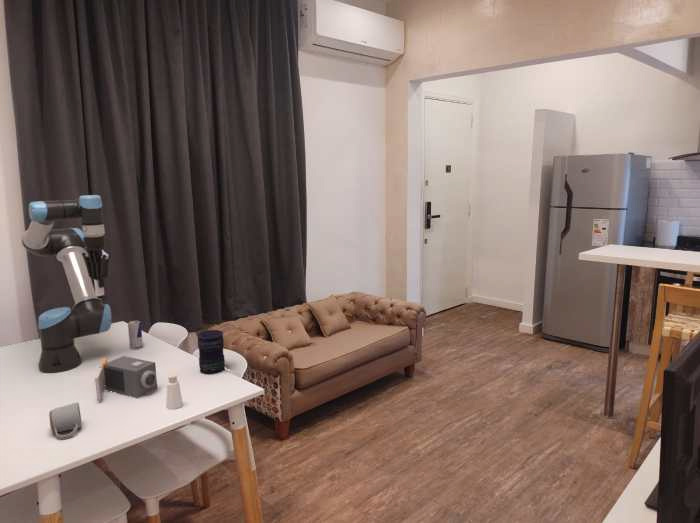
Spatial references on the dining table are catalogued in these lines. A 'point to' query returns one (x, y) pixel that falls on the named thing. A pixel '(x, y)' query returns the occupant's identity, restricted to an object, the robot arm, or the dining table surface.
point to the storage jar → (211, 352)
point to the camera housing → (130, 376)
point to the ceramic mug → (65, 420)
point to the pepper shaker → (173, 393)
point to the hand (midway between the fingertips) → (100, 295)
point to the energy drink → (135, 335)
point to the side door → (100, 380)
